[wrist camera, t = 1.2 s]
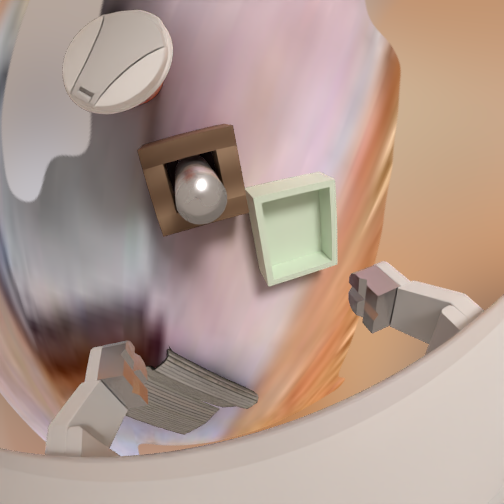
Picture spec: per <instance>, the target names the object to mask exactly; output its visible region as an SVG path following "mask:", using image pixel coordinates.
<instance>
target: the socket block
mask: <svg viewBox="0 0 504 504" xmlns="http://www.w3.org/2000/svg"><path fill="white" fill-rule="evenodd" d="M137 151H138V155H139V159H140V162H141V166H142V169H143V173H144V176H145V180H146V183H147V187H148V190H149V193H150V196H151V200H152V203H153V206H154V209H155V212H156V216H157V219H158V222H159V225H160V228H161V231H162V234H163V237H164V236H167V235H171V234H174V233H178V232H181V231H185V230H188V229H192V228H195V227H199V226H202V225H206V224H193V223H190V222H188V221H186V220H185V219H184V218H183V217H182V216H181V215H180V214H179V212H178V210H177V207H176V200H175V194H174V190H173V187H172V183H171V179H170V176H169V172H168V168H167V164H166V163H168V162H172V161H175V160H179V159H183V158H186V157H190V156H194V155H198V154H201V153H205V152H210V151H211V152H212V157H213V162H214V166H215V171H216V176H217V177H218V178H219V180H220V181H221V183H222V184H223V186H224V187H225V190H226V193H227V204H226V207H225V210H224V211H223V213H222V214H221V215H220V216H219V217H218V218H217V219H216V220H214V221H212V222H210V223H213V222H216V221H220V220H224V219H227V218H231V217H235V216H238V215H242V214H246V213H249V208H248V203H247V198H246V192H245V187H244V182H243V176H242V171H241V166H240V161H239V155H238V150H237V145H236V139H235V134H234V129H233V125H228V124H221V125H216V126H212V127H207V128H203V129H199V130H195V131H191V132H187V133H183V134H179V135H175V136H172V137H168V138H165V139H161V140H158V141H155V142H151V143H148V144H145V145H143V146H142V147H141V148H139V149H138V150H137ZM207 224H209V223H207Z"/></svg>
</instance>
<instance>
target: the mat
mask: <svg viewBox="0 0 504 504" xmlns="http://www.w3.org/2000/svg"><path fill="white" fill-rule="evenodd" d="M169 348H170V347H169ZM167 354H168V356H167V358H166V360H165V361H164V362H162V363H161V364H160V365H159V366H157V367H156V368H154V367H152V366H146V370H147V378H148V380H147V382H146V383H145V385H144V386H145V387H146V388H147V390H148V405H146V406H141V407H135V408H130V409H128V411H127V413H126V415H125V416H128V417H131V418H133V419H136V420H139V421H142V422H145V423H147V424H150V425H153V426H156V427H160V428H163V429H166V430H170V431H173V432H177V433H180V434H186V433H188V432H190V431H192V430H194V429H196V428H198V427H200V426H201V425H203V424H205V423H206V422H207V421H208V420H209V419H210V418H211V417H212V416H213V415H214V414H215V413H216V412H217V411H218V410H219V408H216V407H214V406H211V405H209V404H207V403H210V404H213V405H216V406H220V407H233V406H238V407H241V408H245V409H248V408H250V407H252V406H253V405H254V404H256V403H257V401H258V395H257V394H256V393H255V392H254V391H252V390H250V389H248V388H246V387H244V386H241V385H239V384H237V383H235V382H233V381H230V380H228V379H226V378H223V377H221V376H219V375H217V374H215V373H213V372H210V371H208V370H206V369H205V368H203V367H201V366H199V365H197V364H195V363H193V362H191V361H189V360H187V359H185V358H183V357H182V356H180V355H178V354H176V353H174V352H173V351H172V350H171V349H170V350H169V349H167ZM201 400H202V401H201ZM203 401H205V402H207V403H205V402H203Z"/></svg>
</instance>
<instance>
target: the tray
mask: <svg viewBox="0 0 504 504" xmlns="http://www.w3.org/2000/svg"><path fill="white" fill-rule="evenodd" d="M245 192H246V198H247V203H248V208H249V216H250V222H251V227H252V232H253V238H254V243H255V248H256V254H257V259H258V265H259V270H260V272H261V274H262V276H263V278H264V279H265V281H266V283H267V285H268V287H269V286H272V285H276V284H279V283H282V282H285V281H288V280H291V279H294V278H298V277H301V276H304V275H307V274H310V273H313V272H316V271H319V270H322V269H325V268H328V267H331V266H334V265H337V212H336V190H335V179H333V178H331V177H329V176H327V175H325V174H323V173H321V172H315V173H310V174H305V175H300V176H296V177H291V178H286V179H282V180H277V181H273V182H268V183H264V184H260V185H256V186H252V187H247V188H245Z"/></svg>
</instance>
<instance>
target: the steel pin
mask: <svg viewBox="0 0 504 504" xmlns="http://www.w3.org/2000/svg"><path fill="white" fill-rule="evenodd" d="M175 200H176V207H177V210H178V212H179V214H180V215H181V216H182V217H183V218H184V219H185V220H186V221H188V222H190V223H193V224H207V223H210V222H212V221H214V220H216V219H217V218H218V217H219V216H220V215H221V214H222V213H223V211H224V210H225V207H226V204H227V193H226V190H225V187H224V186H223V184H222V183H221V181H220V180H219V178H218V177H217V176H216V174H215V173H214V171H213V170H212V168H211V167H210V166H209V164H208V163H207V161H206V160H205V159H204V158H202V157H201V156H198V155H194V156H190V157H186V158H183V159H181V160H180V161H179V162H178V163H177V165H176V167H175Z"/></svg>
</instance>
